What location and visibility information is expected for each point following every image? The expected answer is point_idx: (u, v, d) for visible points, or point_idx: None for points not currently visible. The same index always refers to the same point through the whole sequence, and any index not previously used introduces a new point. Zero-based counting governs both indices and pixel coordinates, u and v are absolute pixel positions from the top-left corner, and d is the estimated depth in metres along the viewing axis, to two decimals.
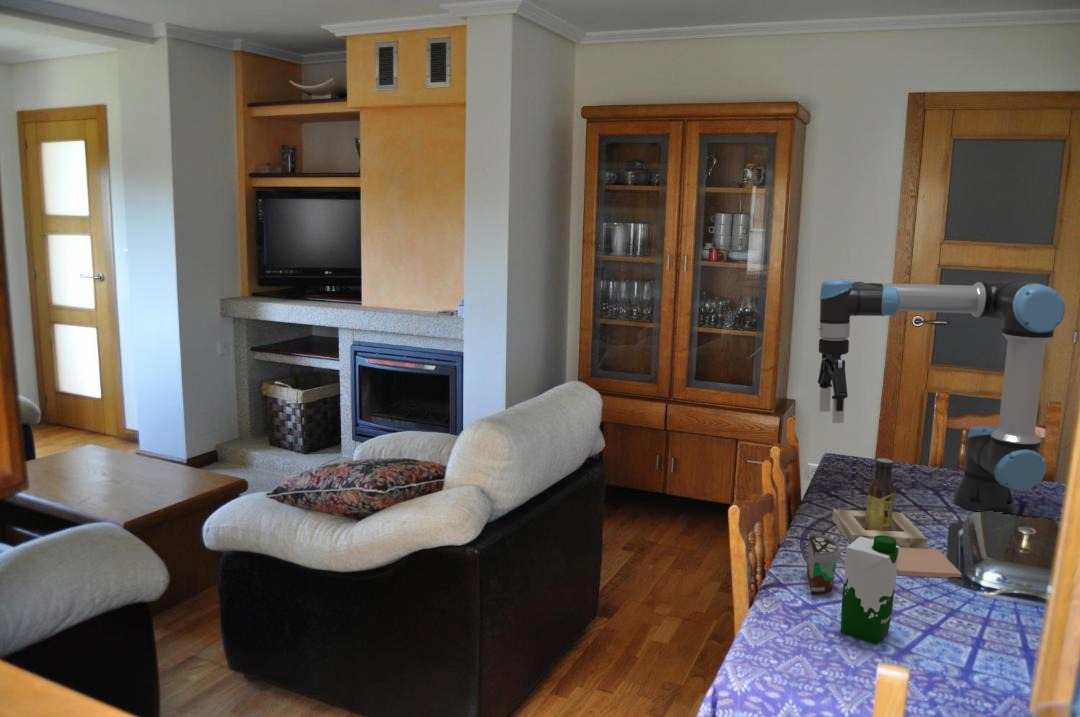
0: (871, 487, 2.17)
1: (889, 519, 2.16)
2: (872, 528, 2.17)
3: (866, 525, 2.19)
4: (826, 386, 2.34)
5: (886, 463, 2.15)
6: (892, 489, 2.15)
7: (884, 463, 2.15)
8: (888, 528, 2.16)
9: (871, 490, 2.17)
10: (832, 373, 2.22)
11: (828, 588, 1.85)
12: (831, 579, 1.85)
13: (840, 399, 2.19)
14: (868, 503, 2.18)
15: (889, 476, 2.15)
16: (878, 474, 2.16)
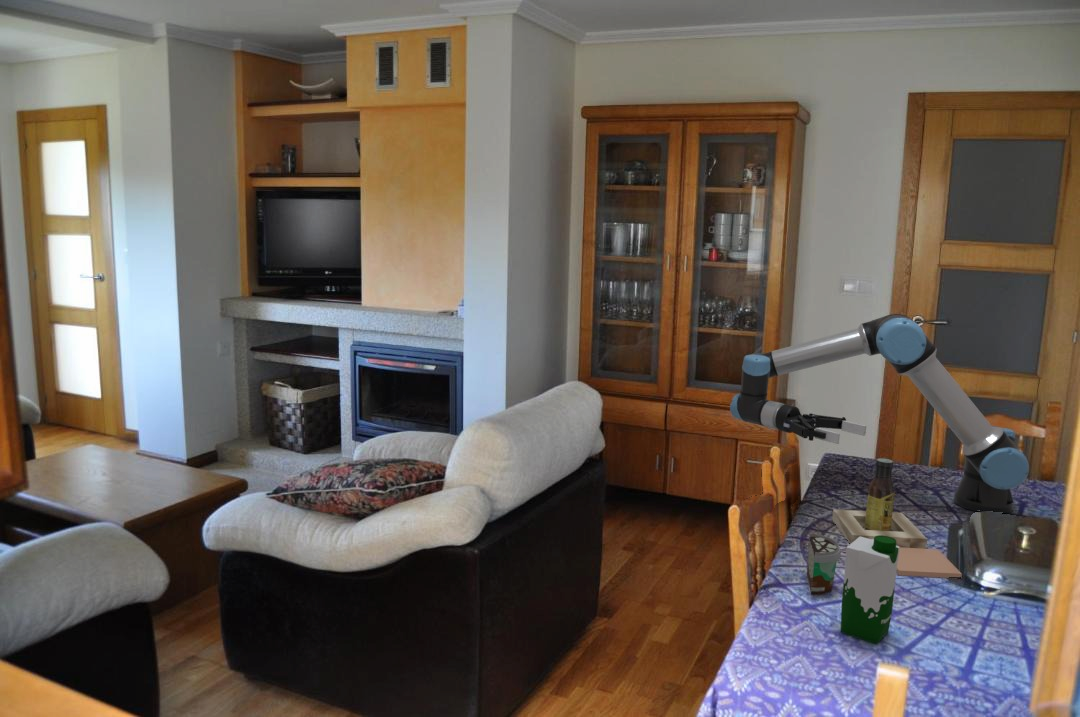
0: (871, 487, 2.17)
1: (889, 519, 2.16)
2: (872, 528, 2.17)
3: (866, 525, 2.19)
4: (842, 423, 2.32)
5: (886, 463, 2.15)
6: (892, 489, 2.15)
7: (884, 463, 2.15)
8: (888, 528, 2.16)
9: (871, 490, 2.17)
10: None
11: (828, 588, 1.85)
12: (831, 579, 1.85)
13: (812, 433, 2.21)
14: (868, 503, 2.18)
15: (889, 476, 2.15)
16: (878, 474, 2.16)
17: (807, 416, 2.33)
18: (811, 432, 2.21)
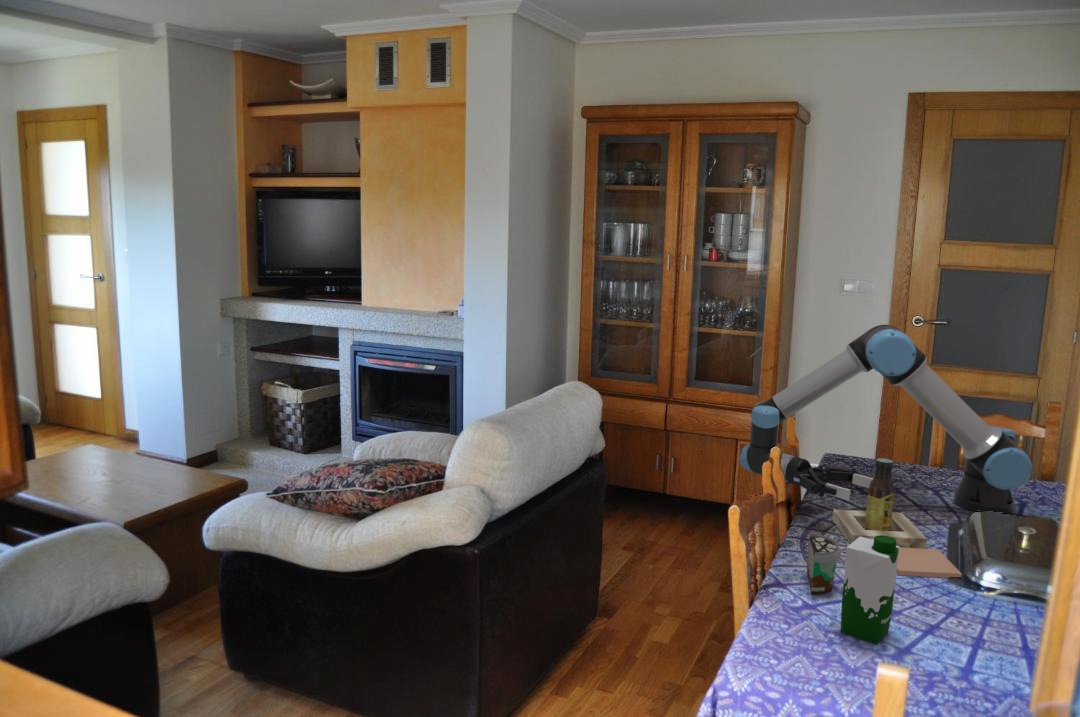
0: (871, 487, 2.17)
1: (889, 519, 2.16)
2: (872, 528, 2.17)
3: (866, 525, 2.19)
4: (852, 476, 2.30)
5: (886, 463, 2.15)
6: (892, 489, 2.15)
7: (884, 463, 2.15)
8: (888, 528, 2.16)
9: (871, 490, 2.17)
10: None
11: (828, 588, 1.85)
12: (831, 579, 1.85)
13: (822, 489, 2.20)
14: (868, 503, 2.18)
15: (889, 476, 2.15)
16: (878, 474, 2.16)
17: (817, 469, 2.32)
18: (821, 488, 2.20)
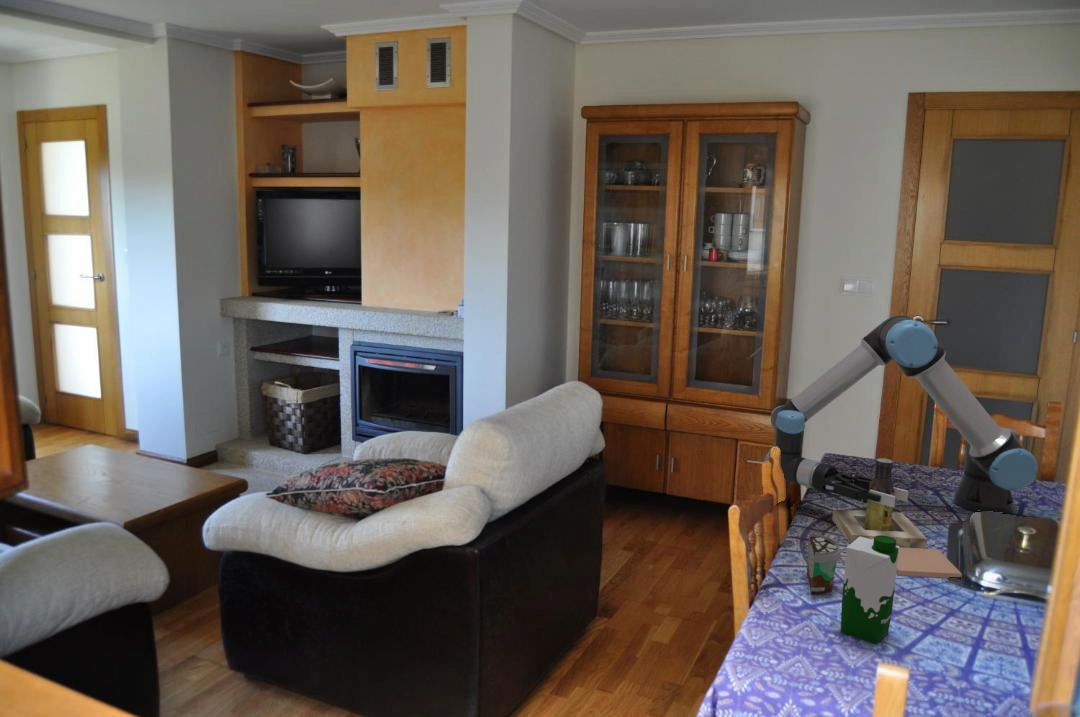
0: (871, 487, 2.17)
1: (889, 519, 2.16)
2: (872, 528, 2.17)
3: (866, 525, 2.19)
4: None
5: (886, 463, 2.14)
6: (892, 489, 2.15)
7: (884, 463, 2.14)
8: (888, 528, 2.16)
9: None
10: None
11: (828, 588, 1.85)
12: (831, 579, 1.85)
13: (866, 496, 2.15)
14: (868, 503, 2.18)
15: (889, 476, 2.15)
16: (878, 474, 2.16)
17: (844, 476, 2.26)
18: (865, 494, 2.15)
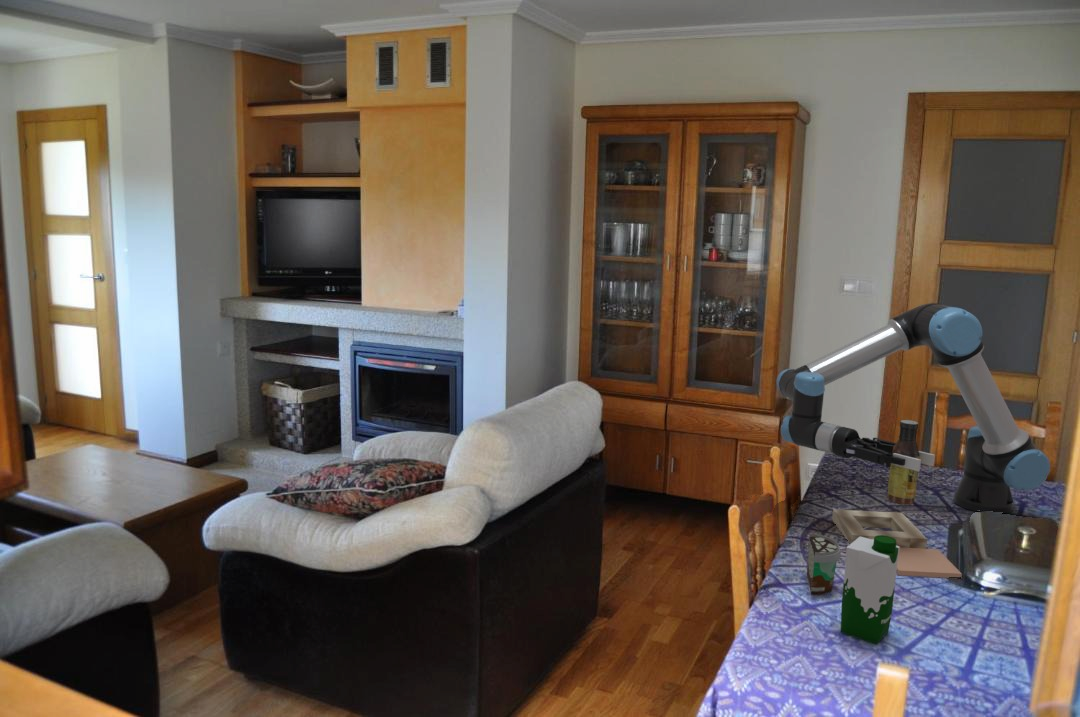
0: (894, 450, 2.04)
1: (914, 484, 2.03)
2: (895, 494, 2.04)
3: (889, 491, 2.05)
4: None
5: (911, 425, 2.01)
6: (917, 452, 2.02)
7: (908, 425, 2.01)
8: (912, 494, 2.03)
9: None
10: None
11: (828, 588, 1.85)
12: (831, 579, 1.85)
13: (889, 459, 2.02)
14: (891, 468, 2.05)
15: (914, 439, 2.02)
16: (902, 437, 2.03)
17: (866, 440, 2.13)
18: (888, 458, 2.02)
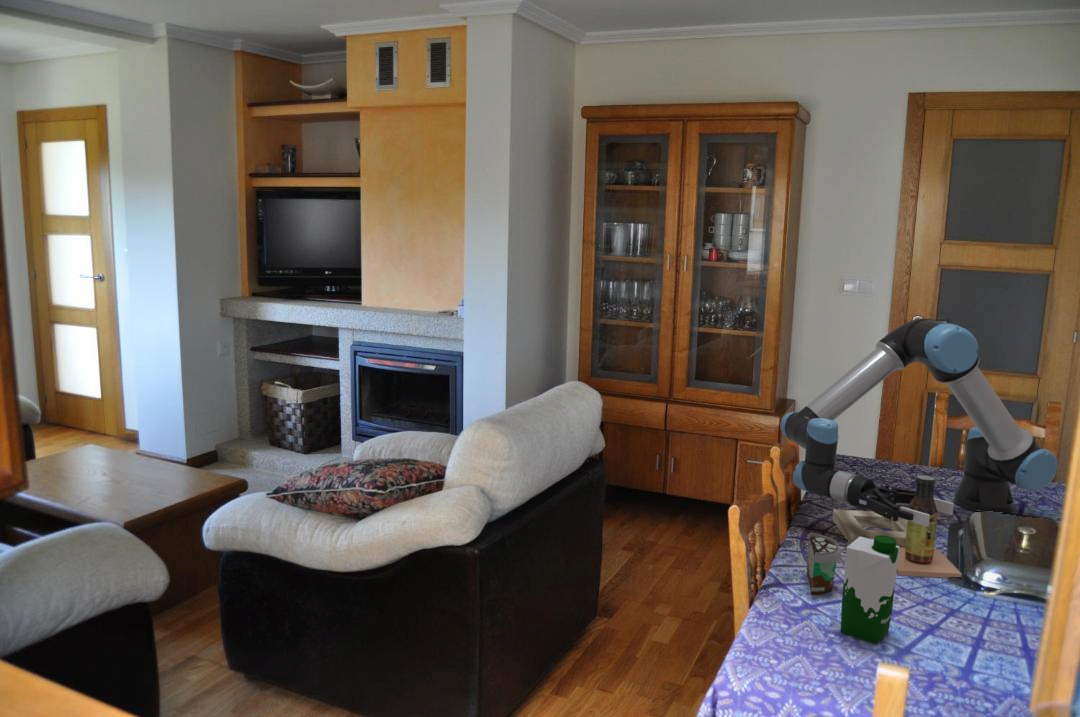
0: (911, 507, 1.99)
1: (932, 542, 1.98)
2: (914, 552, 1.99)
3: (907, 549, 2.01)
4: None
5: (928, 480, 1.97)
6: (935, 509, 1.98)
7: (925, 480, 1.97)
8: (931, 552, 1.98)
9: None
10: None
11: (828, 588, 1.85)
12: (831, 579, 1.85)
13: (897, 514, 1.96)
14: (908, 524, 2.00)
15: (931, 495, 1.98)
16: (919, 493, 1.99)
17: (883, 490, 2.08)
18: (896, 512, 1.96)
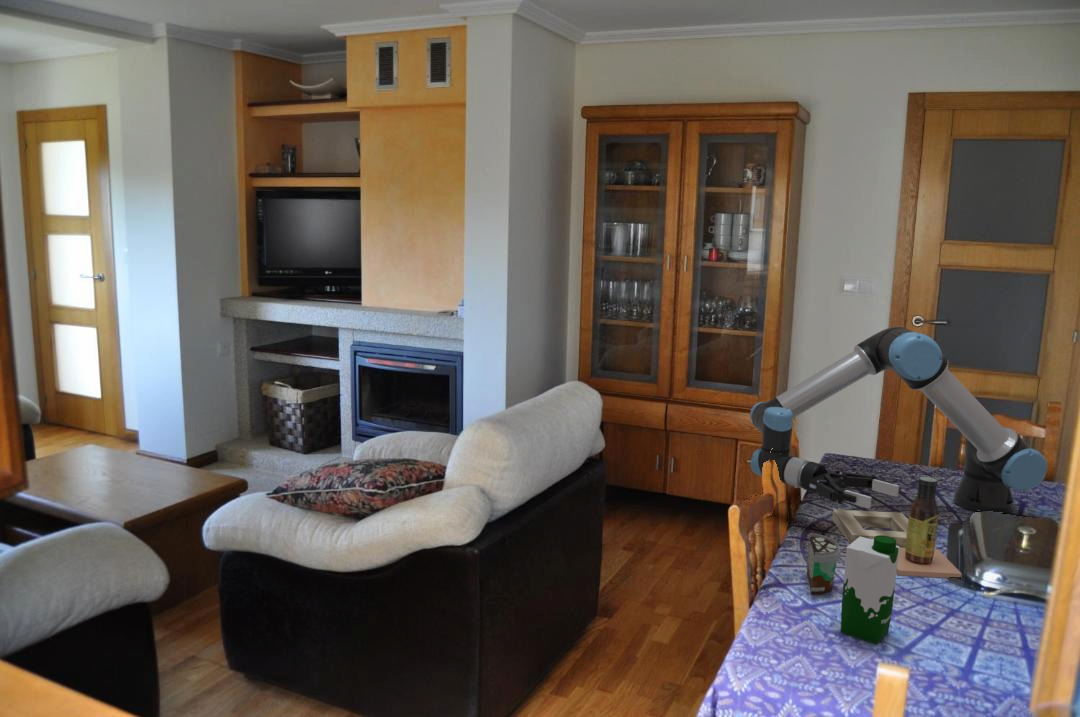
0: (913, 508, 1.99)
1: (933, 543, 1.98)
2: (914, 553, 1.99)
3: (907, 549, 2.00)
4: (872, 482, 2.16)
5: (930, 482, 1.96)
6: (936, 510, 1.97)
7: (928, 482, 1.96)
8: (931, 553, 1.98)
9: (913, 511, 1.99)
10: None
11: (828, 588, 1.85)
12: (831, 579, 1.85)
13: (841, 497, 2.06)
14: (909, 525, 2.00)
15: (933, 496, 1.97)
16: (921, 494, 1.98)
17: (834, 475, 2.17)
18: (840, 495, 2.06)
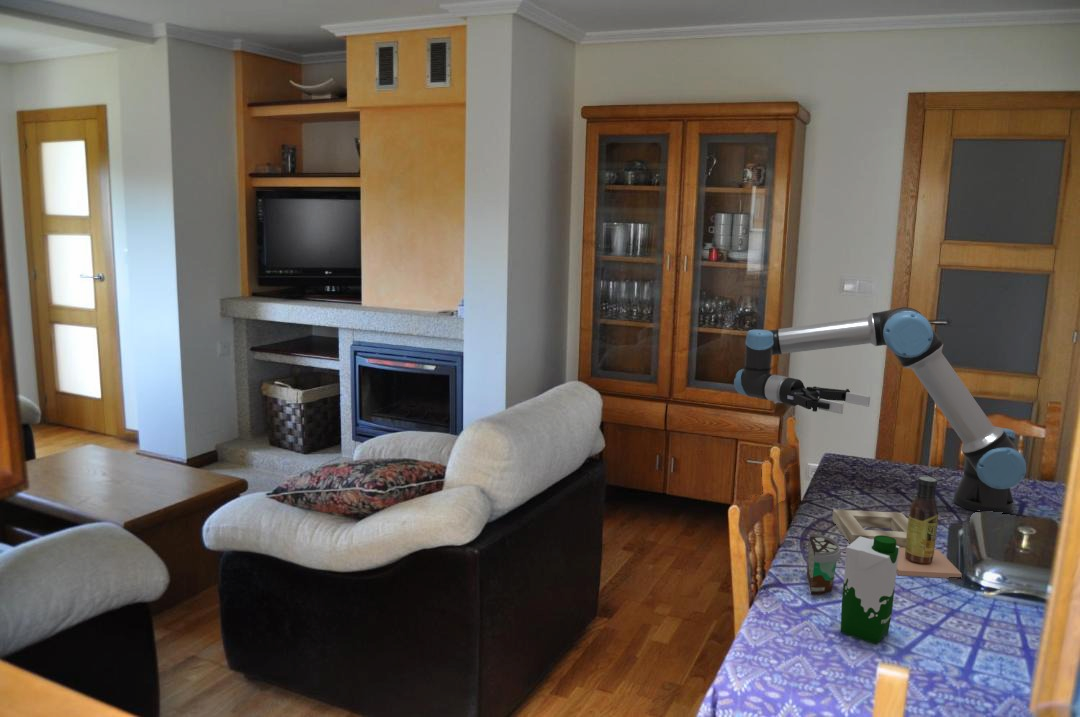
0: (913, 508, 1.99)
1: (932, 543, 1.98)
2: (914, 553, 1.99)
3: (907, 549, 2.00)
4: (845, 395, 2.32)
5: (929, 482, 1.96)
6: (936, 510, 1.97)
7: (927, 482, 1.97)
8: (931, 553, 1.98)
9: (913, 511, 1.99)
10: None
11: (828, 588, 1.85)
12: (831, 579, 1.85)
13: (815, 404, 2.22)
14: (909, 525, 2.00)
15: (933, 496, 1.97)
16: (920, 494, 1.98)
17: (811, 388, 2.33)
18: (815, 403, 2.22)
